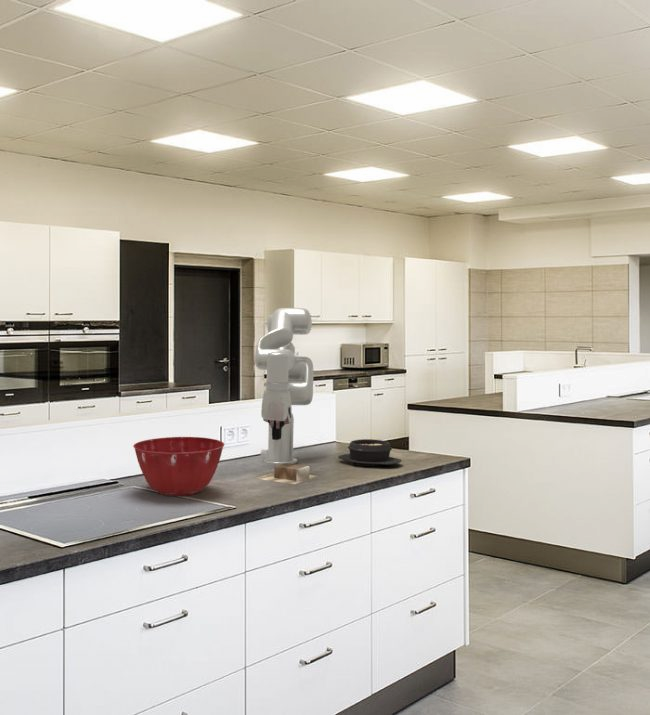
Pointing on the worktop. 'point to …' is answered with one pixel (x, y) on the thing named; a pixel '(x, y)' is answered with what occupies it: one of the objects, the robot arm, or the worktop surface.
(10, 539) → the worktop surface
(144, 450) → the mixing bowl
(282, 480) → the oak board
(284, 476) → the walnut block
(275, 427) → the robot arm
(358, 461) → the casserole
